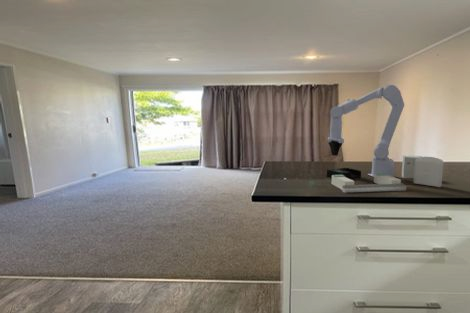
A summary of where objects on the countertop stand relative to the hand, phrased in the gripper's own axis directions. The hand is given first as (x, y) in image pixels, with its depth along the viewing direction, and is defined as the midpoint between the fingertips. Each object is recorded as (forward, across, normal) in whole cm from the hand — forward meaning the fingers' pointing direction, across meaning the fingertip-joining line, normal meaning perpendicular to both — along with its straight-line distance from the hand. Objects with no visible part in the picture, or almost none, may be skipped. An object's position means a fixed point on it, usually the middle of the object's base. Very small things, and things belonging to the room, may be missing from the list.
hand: (334, 155), depth 143 cm
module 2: (+9, +29, +10) cm, 32 cm away
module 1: (+9, +29, -10) cm, 32 cm away
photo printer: (+10, +30, +28) cm, 42 cm away
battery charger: (+10, +12, 0) cm, 15 cm away
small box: (+10, +16, +32) cm, 37 cm away
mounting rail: (+9, +36, 0) cm, 37 cm away
